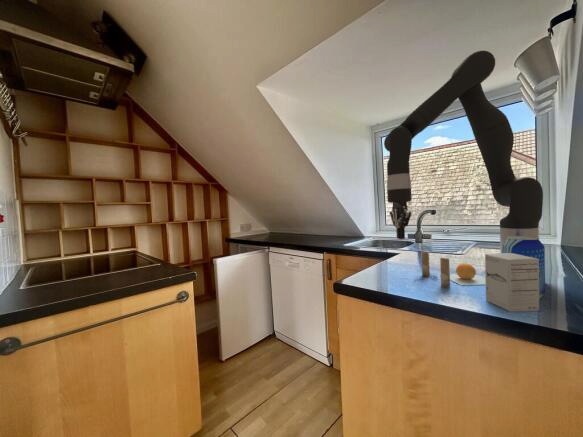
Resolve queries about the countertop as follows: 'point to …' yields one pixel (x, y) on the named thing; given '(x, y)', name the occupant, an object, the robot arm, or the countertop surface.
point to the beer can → (528, 253)
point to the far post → (425, 263)
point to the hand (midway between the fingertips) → (400, 238)
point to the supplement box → (512, 281)
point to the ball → (466, 271)
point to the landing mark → (474, 281)
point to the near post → (445, 272)
